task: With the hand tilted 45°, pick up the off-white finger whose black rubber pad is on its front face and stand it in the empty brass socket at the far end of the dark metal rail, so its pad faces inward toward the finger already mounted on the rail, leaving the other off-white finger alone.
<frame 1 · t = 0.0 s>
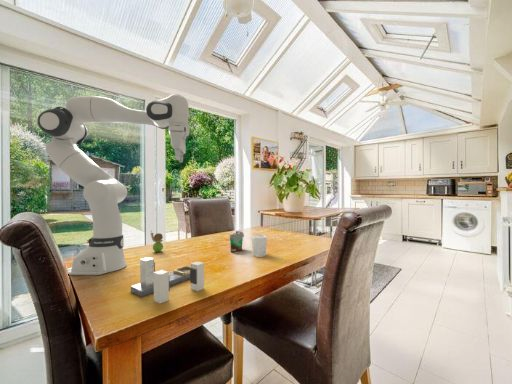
hand: (179, 161, 113), 48 cm above the table, tool pointing down, fingers open, 8 cm apart
white cup: (259, 255, 128), on the table
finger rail: (169, 282, 92), on the table
food container: (238, 250, 138), on the table
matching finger: (197, 288, 86), on the table
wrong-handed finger: (161, 300, 77), on the table
snail figurine: (157, 252, 135), on the table
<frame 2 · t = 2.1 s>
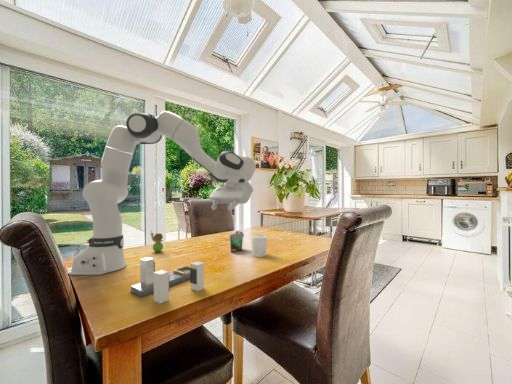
hand: (221, 209, 102), 27 cm above the table, tool tilted 45°, fingers open, 8 cm apart
nothing on the table moved.
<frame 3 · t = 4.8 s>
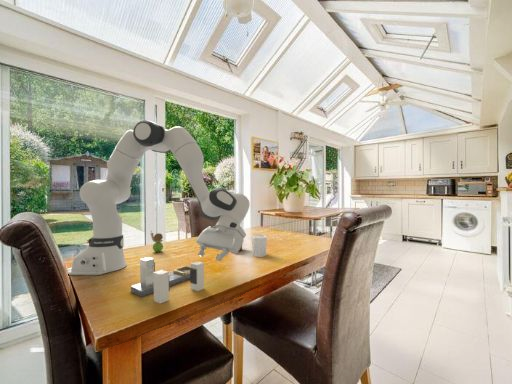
hand: (208, 257, 90), 10 cm above the table, tool tilted 45°, fingers open, 8 cm apart
nothing on the table moved.
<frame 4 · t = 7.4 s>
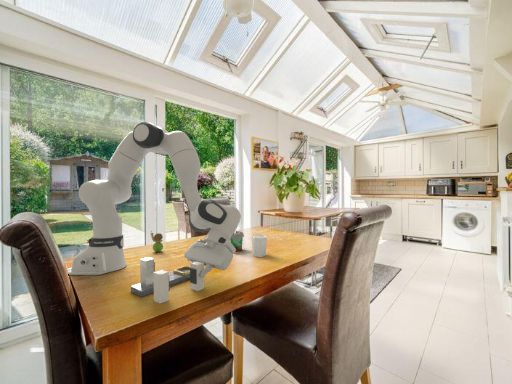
hand: (195, 275, 85), 5 cm above the table, tool tilted 45°, fingers closed on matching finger, 3 cm apart
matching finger: (197, 288, 86), on the table, touching gripper
everything else where it was.
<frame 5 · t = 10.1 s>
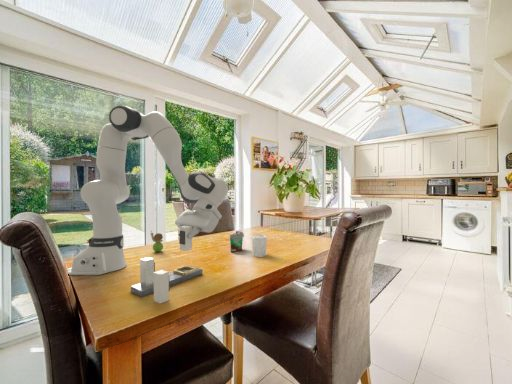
hand: (184, 237, 94), 16 cm above the table, tool tilted 45°, fingers closed on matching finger, 3 cm apart
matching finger: (185, 249, 95), point 11 cm above the table, touching gripper
everything else where it was.
when the fingers open (8 cm above the table, at t = 13.1 s): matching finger drops 1 cm, resting on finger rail.
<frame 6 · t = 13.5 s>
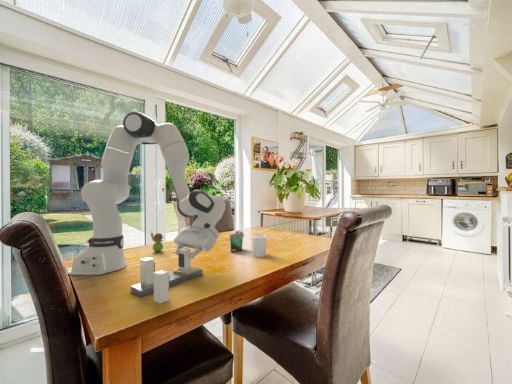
hand: (183, 256, 97), 8 cm above the table, tool tilted 45°, fingers open, 7 cm apart
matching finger: (184, 271, 97), point 2 cm above the table, touching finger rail
everything else where it was.
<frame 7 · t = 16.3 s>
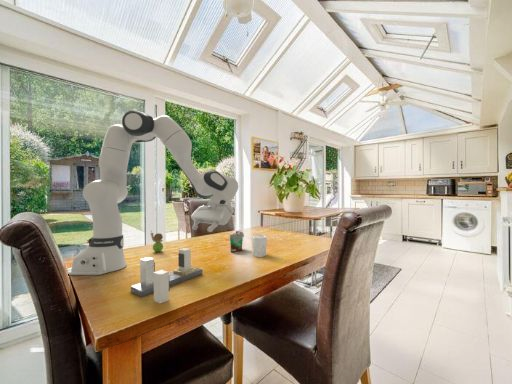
hand: (201, 229, 104), 18 cm above the table, tool tilted 45°, fingers open, 8 cm apart
nothing on the table moved.
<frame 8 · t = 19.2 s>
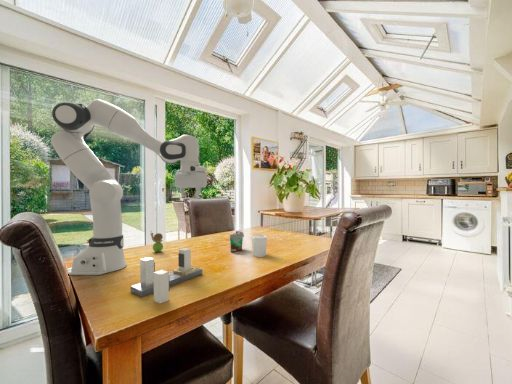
hand: (190, 197, 119), 31 cm above the table, tool pointing down, fingers open, 8 cm apart
nothing on the table moved.
at the end: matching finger 0.1 cm from the target spot on the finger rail, point 2.0 cm above the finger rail's base; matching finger tilted 0°; the gripper is holding nothing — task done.
